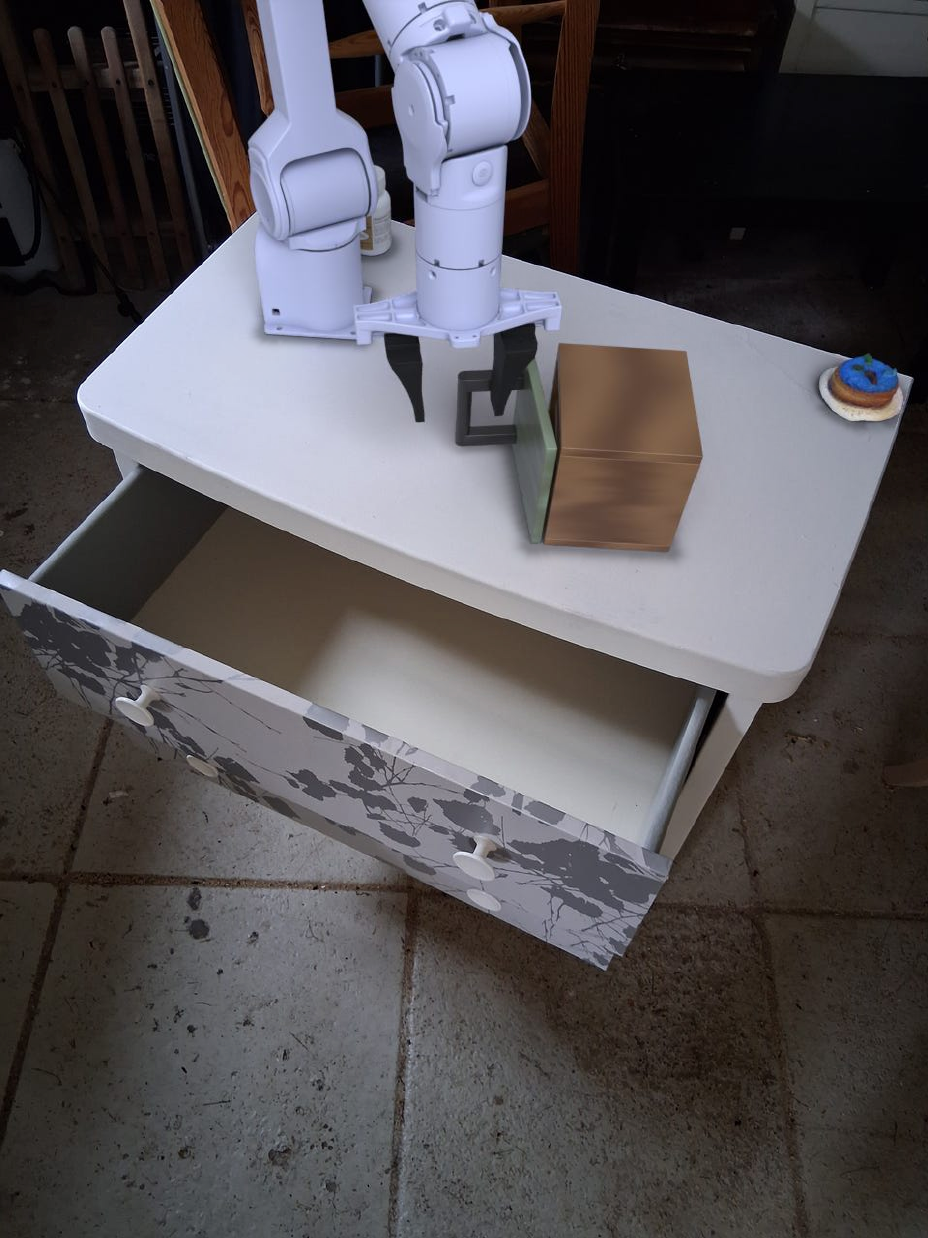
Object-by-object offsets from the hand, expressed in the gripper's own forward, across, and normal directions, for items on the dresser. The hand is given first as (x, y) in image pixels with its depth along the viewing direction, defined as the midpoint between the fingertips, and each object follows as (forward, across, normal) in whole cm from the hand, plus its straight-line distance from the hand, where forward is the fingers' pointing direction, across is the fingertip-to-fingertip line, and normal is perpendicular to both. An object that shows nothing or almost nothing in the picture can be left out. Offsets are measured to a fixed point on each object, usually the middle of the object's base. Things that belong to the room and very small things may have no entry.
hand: (456, 410), depth 69 cm
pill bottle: (+6, -4, +34) cm, 35 cm away
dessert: (+9, +39, +5) cm, 40 cm away
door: (+7, +3, -2) cm, 8 cm away
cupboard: (+7, +12, -3) cm, 14 cm away
